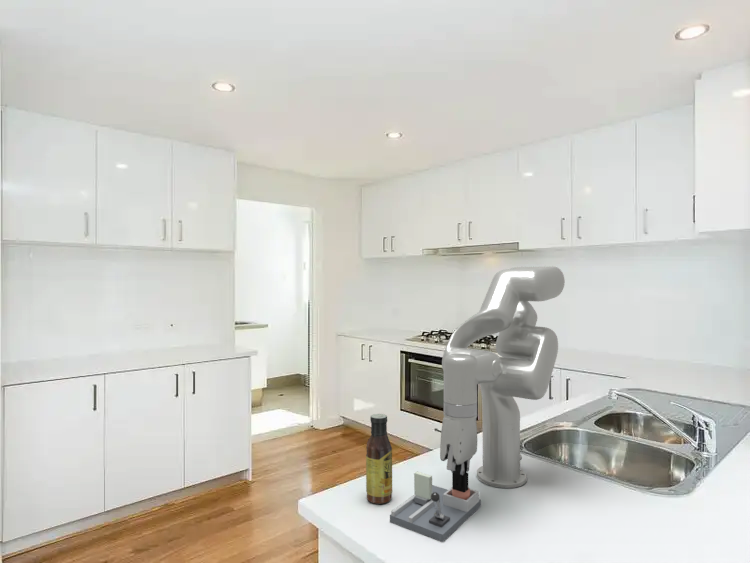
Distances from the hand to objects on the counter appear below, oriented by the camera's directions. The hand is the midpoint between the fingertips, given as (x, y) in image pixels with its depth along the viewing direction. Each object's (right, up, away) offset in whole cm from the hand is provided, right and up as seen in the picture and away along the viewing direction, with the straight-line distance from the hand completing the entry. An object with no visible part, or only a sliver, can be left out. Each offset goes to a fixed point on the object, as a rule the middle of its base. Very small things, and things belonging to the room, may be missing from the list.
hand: (460, 489), depth 107 cm
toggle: (-6, -2, -8) cm, 10 cm away
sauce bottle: (-18, -5, +6) cm, 20 cm away
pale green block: (-8, -3, +1) cm, 9 cm away
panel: (-6, -5, -2) cm, 7 cm away
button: (0, -3, 0) cm, 3 cm away
